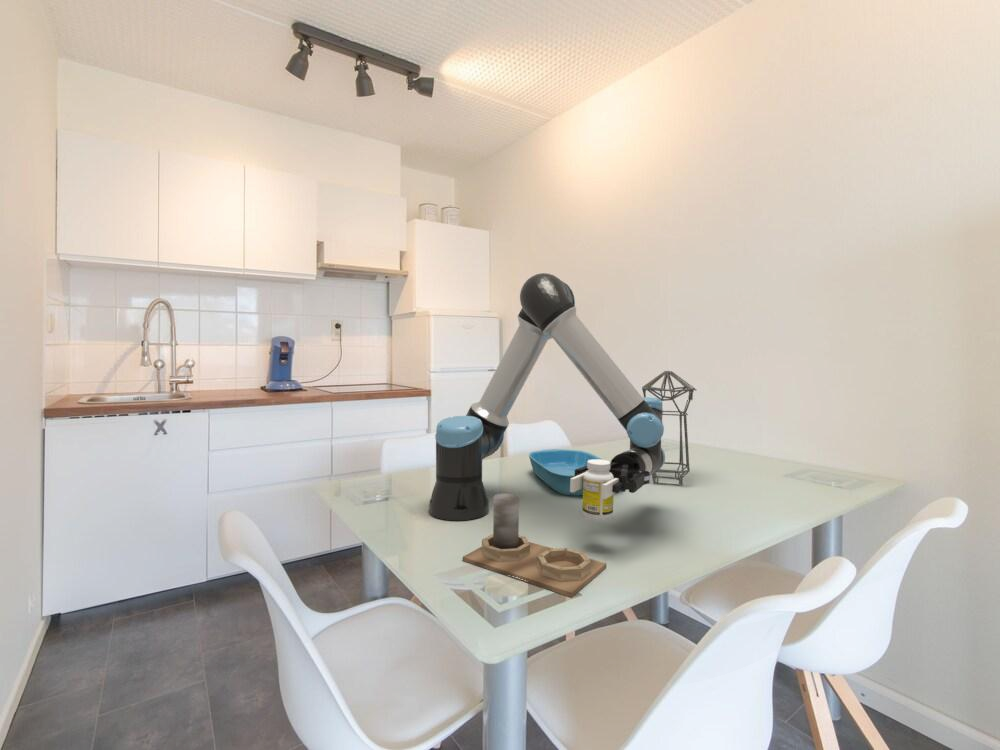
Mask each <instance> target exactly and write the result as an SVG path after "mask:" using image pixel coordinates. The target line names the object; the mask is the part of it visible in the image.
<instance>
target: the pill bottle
mask: <svg viewBox="0 0 1000 750" xmlns="http://www.w3.org/2000/svg"><path fill="white" fill-rule="evenodd" d="M610 462H611V461H609V460H606V459H603V460H600V459H592V460H588V461H587V468H588V471H586V472H585V473H584V475H583V495H582V513H583V515H584V516H586V517H587V518H591V519H595V520H597V519H598V520H604V519H605V520H606V519H609V518H611V517H612V516H613V513H614V495H612V496H610V497H608V498H607V499H602V485H603V484H605V483H607V482H608V481H610V480H612V479H614V477H613V475H612V473H610V472H609V470H610V468H611V463H610Z"/></svg>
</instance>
